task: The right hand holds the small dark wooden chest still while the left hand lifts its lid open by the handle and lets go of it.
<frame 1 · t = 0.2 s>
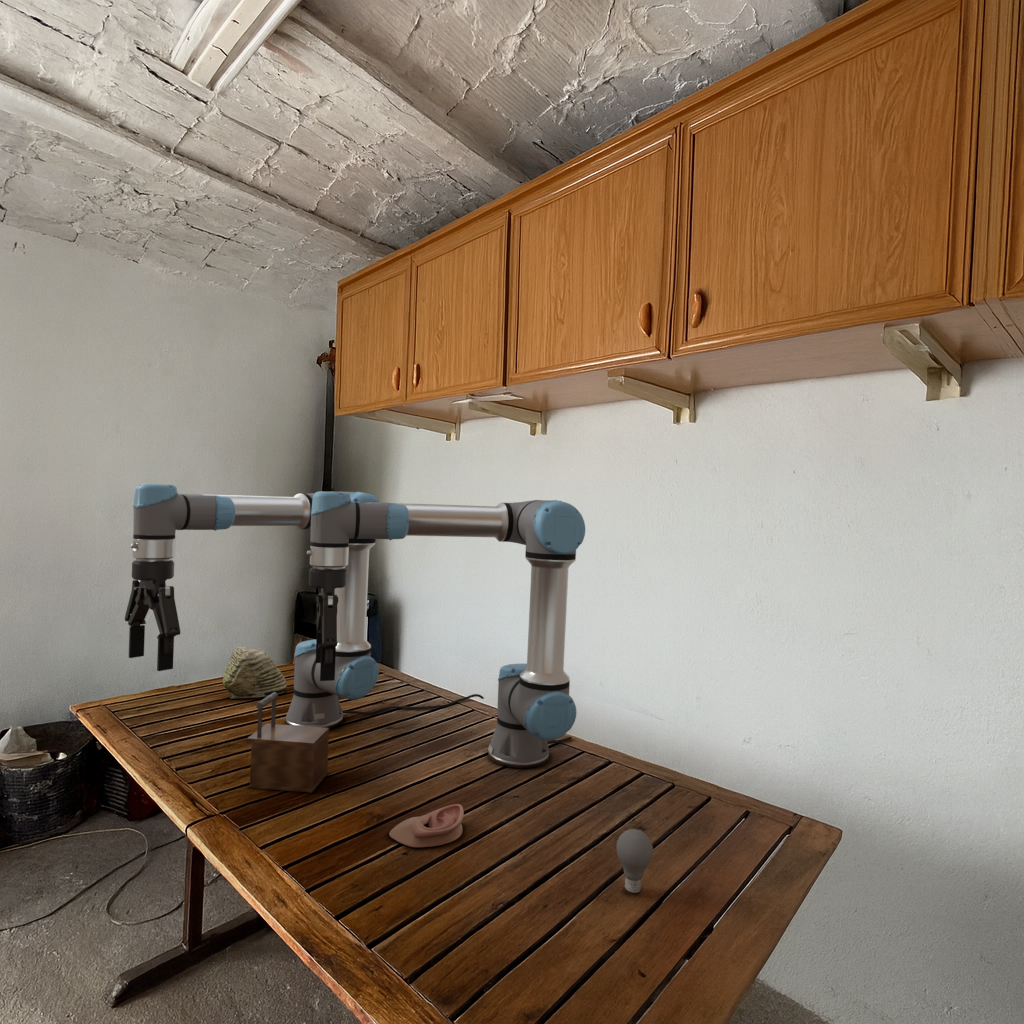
left hand: (150, 663, 129), 28 cm above the table, tool pointing down, fingers open, 13 cm apart
right hand: (324, 671, 129), 28 cm above the table, tool pointing down, fingers open, 13 cm apart
fossil: (254, 694, 198), on the table
light bulb: (632, 891, 106), on the table
lid: (289, 717, 140), point 14 cm above the table, hinge at 0.0°
anatomical model: (426, 833, 121), on the table
chest: (289, 781, 140), on the table
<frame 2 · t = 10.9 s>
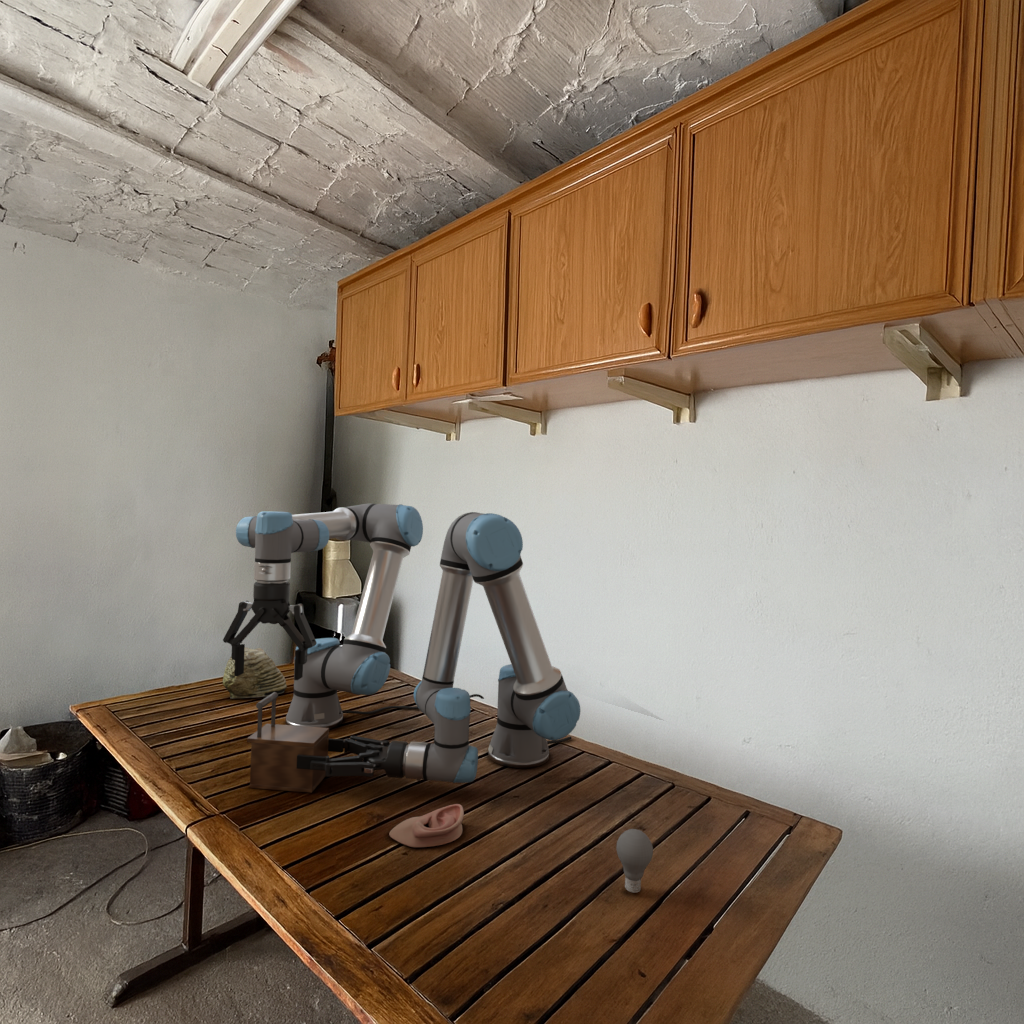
left hand: (268, 676, 140), 23 cm above the table, tool pointing down, fingers open, 13 cm apart
right hand: (306, 752, 140), 7 cm above the table, tool horizontal, fingers closed on chest, 9 cm apart
chest: (289, 781, 140), on the table, touching right hand
everything else where it was.
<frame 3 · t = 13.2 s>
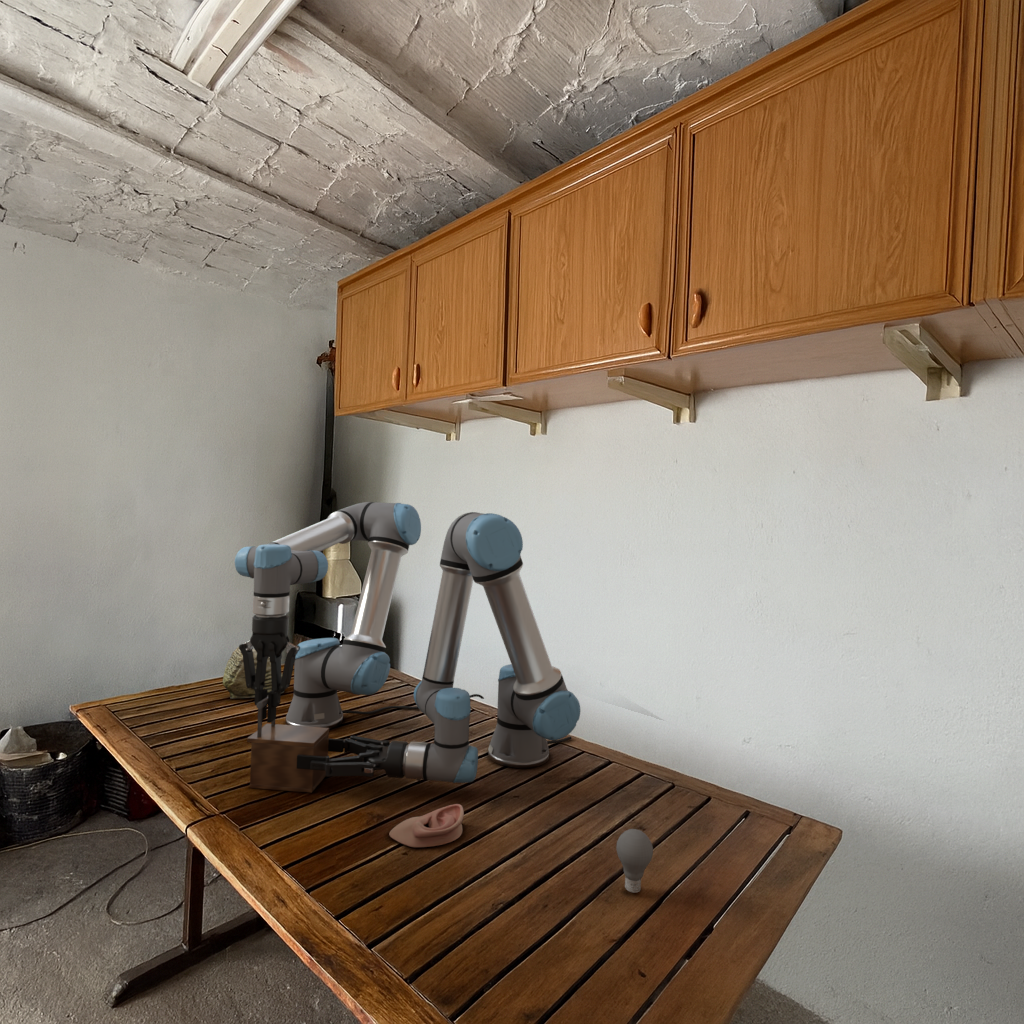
left hand: (266, 719, 141), 13 cm above the table, tool pointing down, fingers closed on lid, 1 cm apart
right hand: (306, 752, 140), 7 cm above the table, tool horizontal, fingers closed on chest, 9 cm apart
lid: (289, 717, 140), point 14 cm above the table, hinge at 0.1°, touching left hand
chest: (289, 781, 140), on the table, touching right hand
everything else where it was.
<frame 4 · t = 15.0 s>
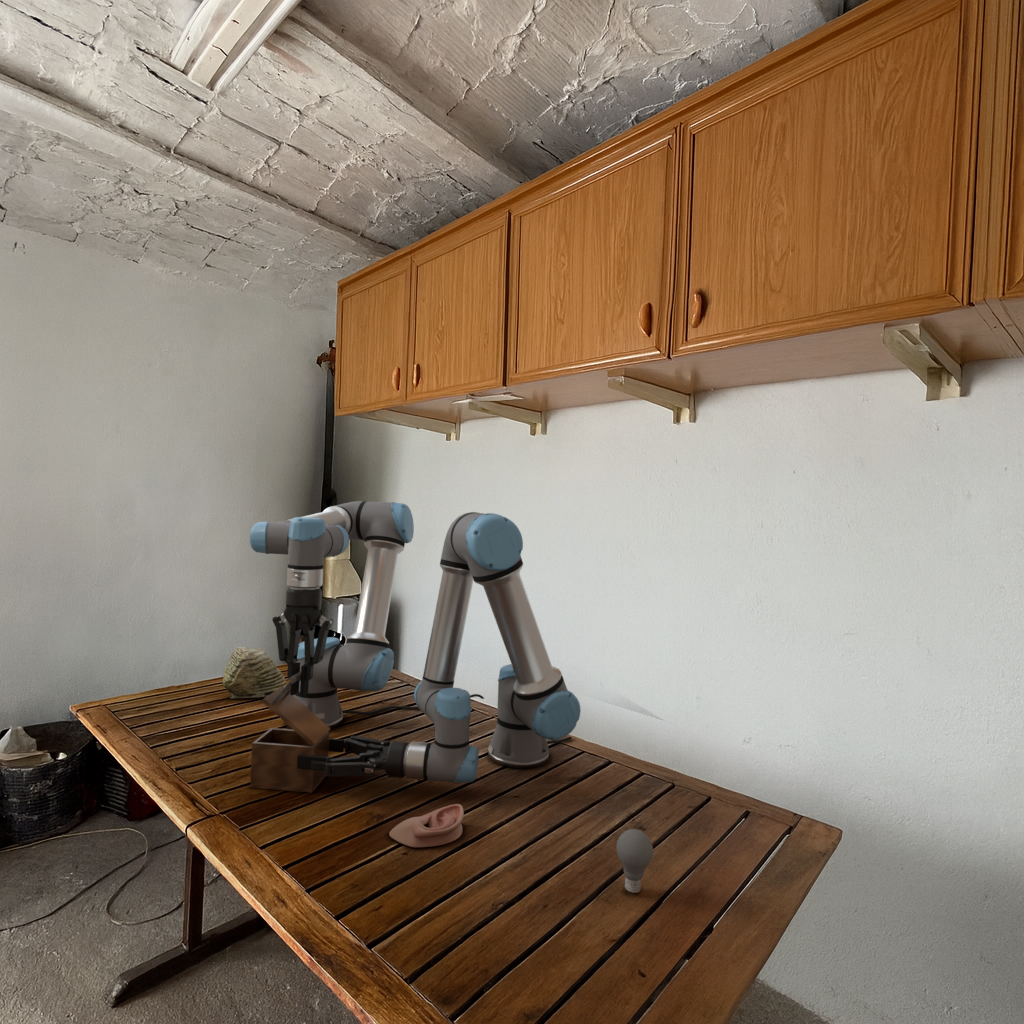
left hand: (299, 693, 140), 20 cm above the table, tool pointing down, fingers closed on lid, 1 cm apart
right hand: (307, 752, 140), 7 cm above the table, tool horizontal, fingers closed on chest, 9 cm apart
lid: (307, 702, 140), point 18 cm above the table, hinge at 37.6°, touching left hand
chest: (290, 781, 140), on the table, touching right hand
everything else where it was.
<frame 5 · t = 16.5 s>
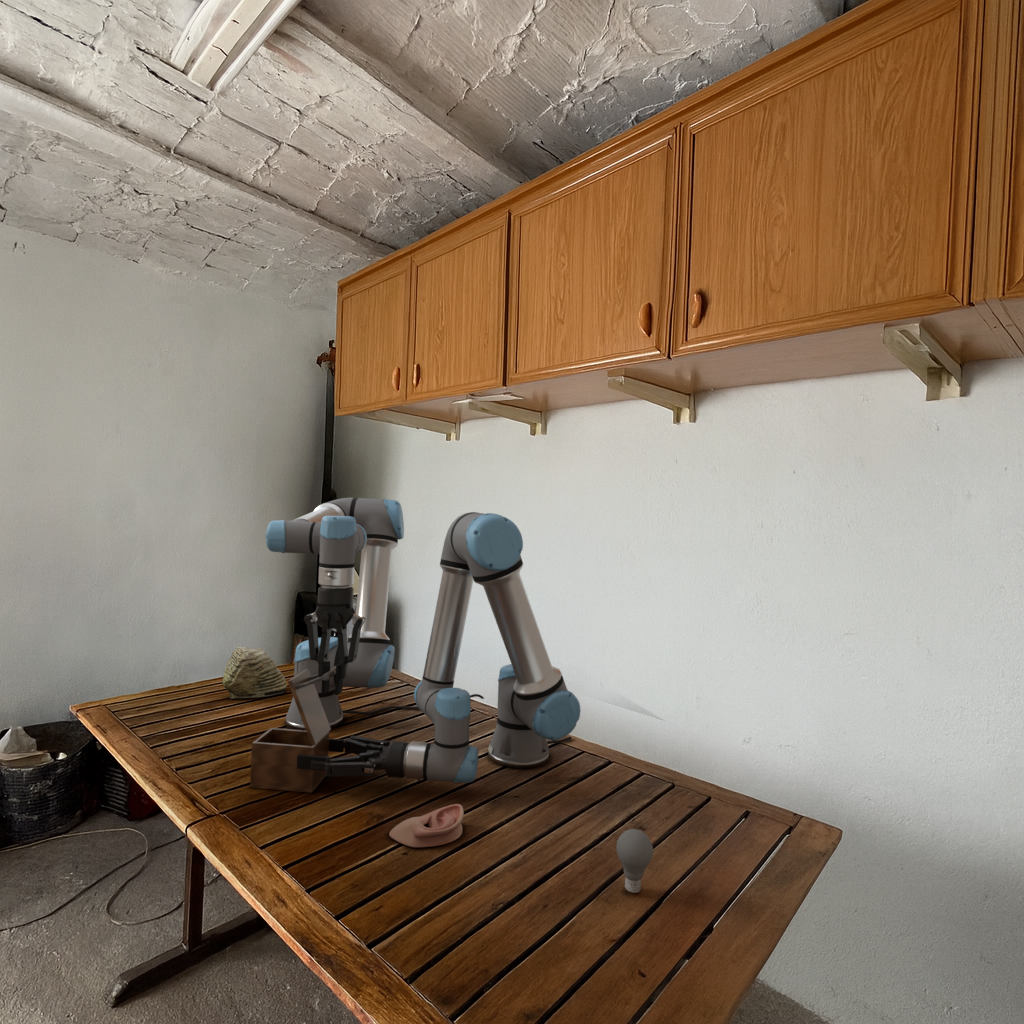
left hand: (332, 692, 139), 20 cm above the table, tool pointing down, fingers open, 2 cm apart
right hand: (307, 752, 140), 7 cm above the table, tool horizontal, fingers closed on chest, 9 cm apart
lid: (325, 700, 139), point 19 cm above the table, hinge at 66.3°
chest: (289, 781, 140), on the table, touching right hand
everything else where it was.
when the right hand's fingers open (7 cm above the table, at t = 20.2 s): chest stays where it is, on the table.
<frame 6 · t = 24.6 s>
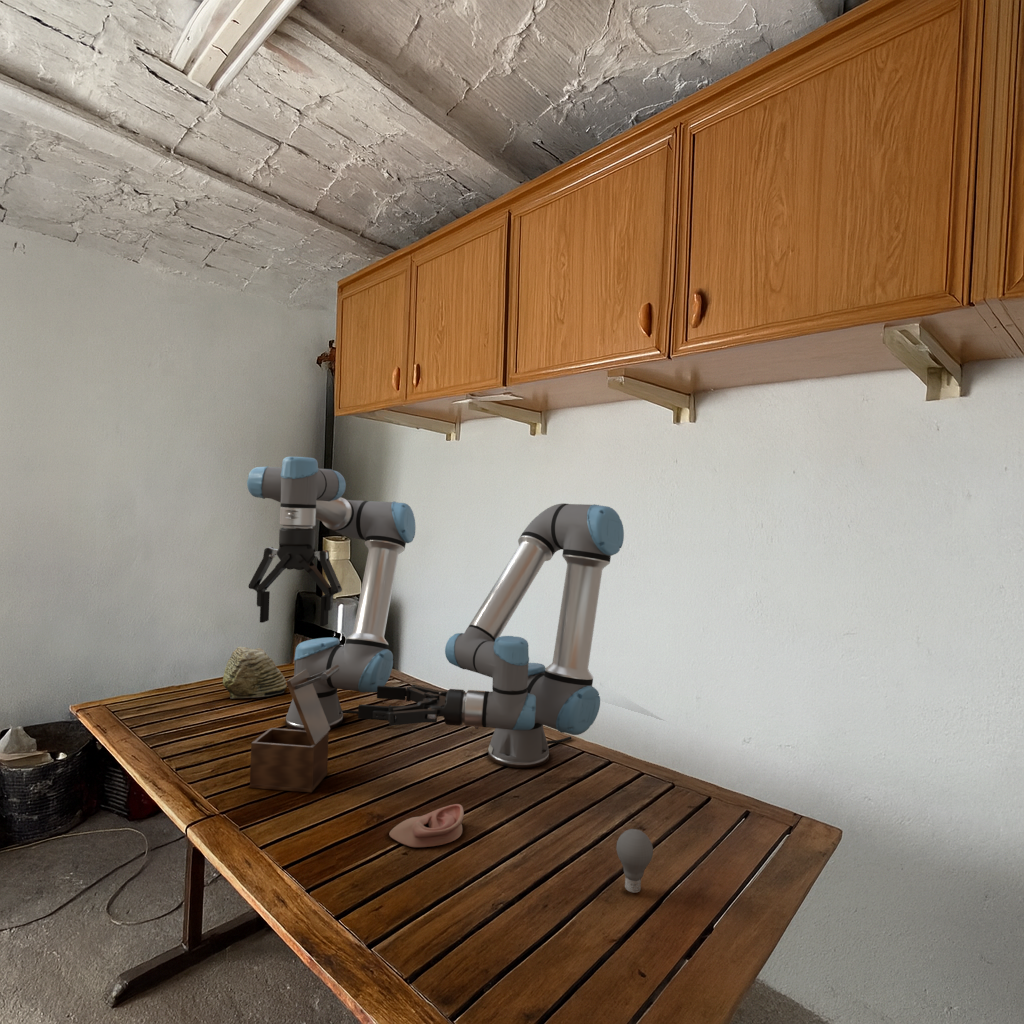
left hand: (294, 623, 140), 35 cm above the table, tool pointing down, fingers open, 13 cm apart
right hand: (368, 701, 139), 19 cm above the table, tool horizontal, fingers open, 13 cm apart
lid: (324, 700, 140), point 19 cm above the table, hinge at 65.5°
chest: (289, 780, 140), on the table
everything else where it was.
at the end: lid at +66° (first picture: +0°); the left hand is holding nothing; the right hand is holding nothing; chest tilted 0°; chest never tilted more than 1° during the clip; chest moved 0.1 cm from its start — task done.
